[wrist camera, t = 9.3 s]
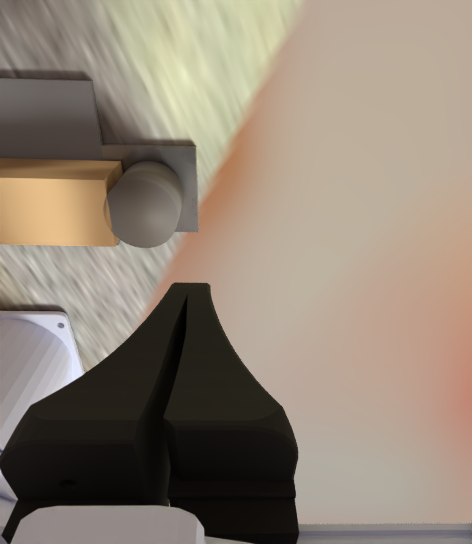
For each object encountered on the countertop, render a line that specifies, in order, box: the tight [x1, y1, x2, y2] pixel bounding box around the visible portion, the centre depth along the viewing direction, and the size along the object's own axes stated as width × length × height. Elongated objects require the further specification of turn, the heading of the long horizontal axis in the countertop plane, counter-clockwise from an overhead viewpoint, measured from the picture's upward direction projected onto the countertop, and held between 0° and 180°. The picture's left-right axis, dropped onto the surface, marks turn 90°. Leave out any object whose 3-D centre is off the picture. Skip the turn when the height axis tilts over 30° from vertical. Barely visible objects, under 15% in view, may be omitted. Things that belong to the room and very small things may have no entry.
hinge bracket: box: [101, 144, 199, 232], centre depth 20 cm, size 5×5×1 cm
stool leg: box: [0, 158, 184, 248], centre depth 18 cm, size 16×4×3 cm, turn 88°
